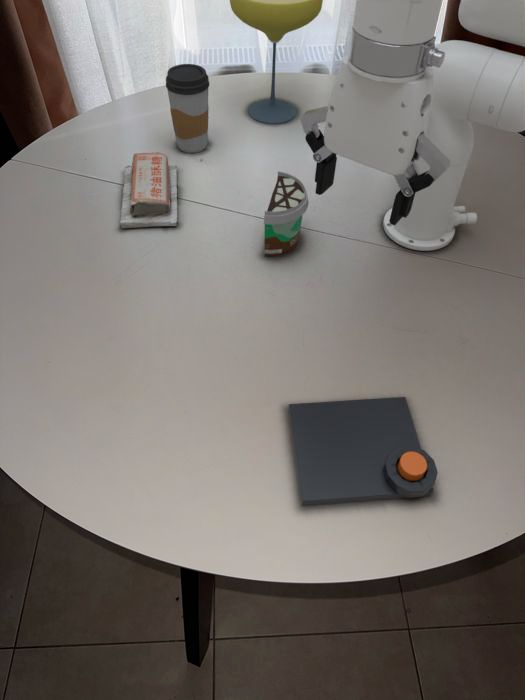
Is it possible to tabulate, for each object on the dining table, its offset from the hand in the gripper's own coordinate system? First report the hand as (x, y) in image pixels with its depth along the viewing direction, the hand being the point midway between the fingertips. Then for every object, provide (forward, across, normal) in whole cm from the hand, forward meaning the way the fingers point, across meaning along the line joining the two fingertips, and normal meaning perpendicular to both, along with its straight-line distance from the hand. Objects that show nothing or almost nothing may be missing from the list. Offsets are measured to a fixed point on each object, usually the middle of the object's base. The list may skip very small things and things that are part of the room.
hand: (359, 203), depth 68 cm
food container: (+24, +18, -16) cm, 34 cm away
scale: (+25, -11, +14) cm, 31 cm away
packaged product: (+24, +46, -12) cm, 53 cm away
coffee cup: (+24, +51, -30) cm, 64 cm away
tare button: (+22, -19, +14) cm, 32 cm away
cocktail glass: (+23, +45, -52) cm, 73 cm away
